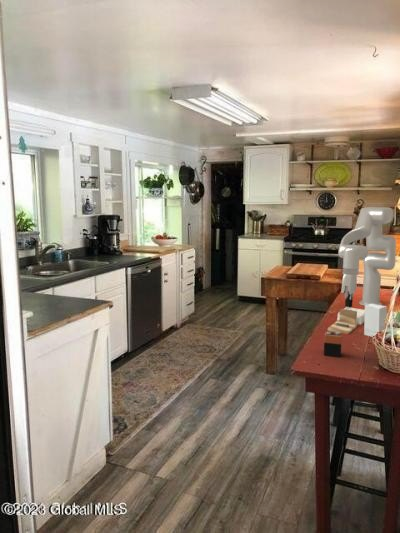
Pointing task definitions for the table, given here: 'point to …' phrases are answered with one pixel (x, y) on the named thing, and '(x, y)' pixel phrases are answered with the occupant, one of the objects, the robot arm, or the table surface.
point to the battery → (332, 344)
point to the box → (360, 315)
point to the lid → (345, 322)
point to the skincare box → (374, 319)
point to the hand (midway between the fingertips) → (348, 306)
